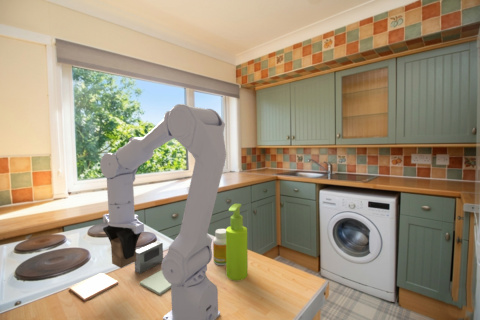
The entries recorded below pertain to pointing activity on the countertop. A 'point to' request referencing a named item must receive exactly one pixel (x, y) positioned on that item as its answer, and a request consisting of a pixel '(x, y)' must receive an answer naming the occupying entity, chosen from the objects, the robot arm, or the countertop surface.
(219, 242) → the supplement bottle
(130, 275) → the countertop surface
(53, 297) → the countertop surface
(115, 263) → the walnut block
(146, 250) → the grey unit
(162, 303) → the countertop surface
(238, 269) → the soap dispenser
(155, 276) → the sage tile
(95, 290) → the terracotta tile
